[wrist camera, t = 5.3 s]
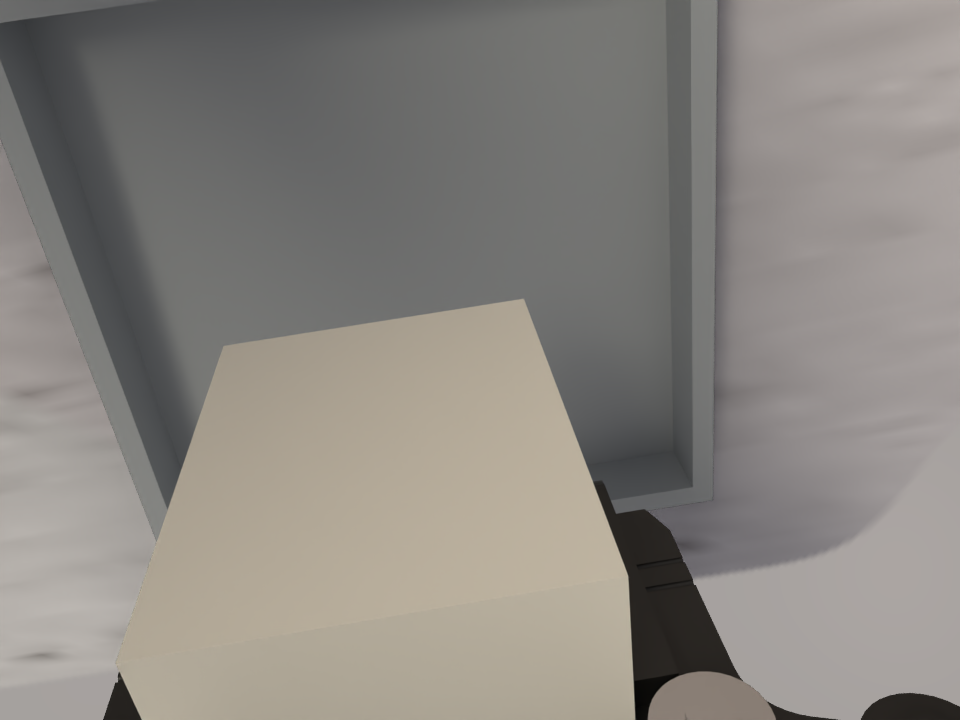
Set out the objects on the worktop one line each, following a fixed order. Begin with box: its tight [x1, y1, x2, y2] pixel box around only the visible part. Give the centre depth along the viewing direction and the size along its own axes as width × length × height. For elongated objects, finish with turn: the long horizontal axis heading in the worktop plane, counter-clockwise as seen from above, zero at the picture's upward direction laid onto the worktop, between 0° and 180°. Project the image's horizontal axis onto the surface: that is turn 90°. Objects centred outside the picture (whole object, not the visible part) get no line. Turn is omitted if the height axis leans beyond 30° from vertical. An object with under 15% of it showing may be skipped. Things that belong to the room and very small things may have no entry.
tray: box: [0, 0, 718, 541], centre depth 22 cm, size 16×16×2 cm
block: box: [116, 299, 635, 720], centre depth 12 cm, size 6×4×6 cm
